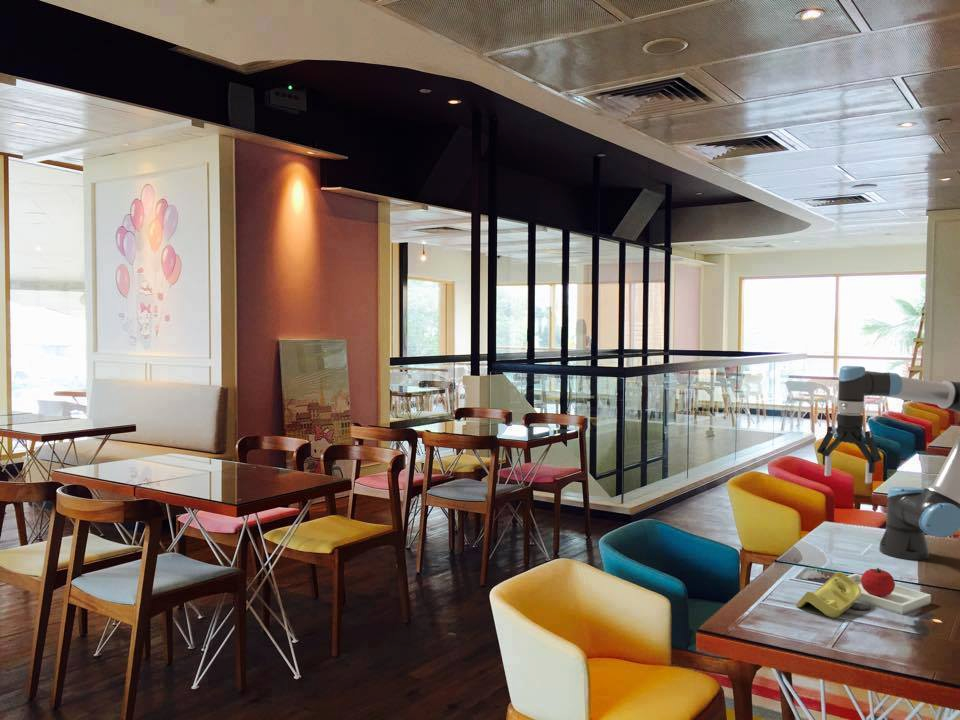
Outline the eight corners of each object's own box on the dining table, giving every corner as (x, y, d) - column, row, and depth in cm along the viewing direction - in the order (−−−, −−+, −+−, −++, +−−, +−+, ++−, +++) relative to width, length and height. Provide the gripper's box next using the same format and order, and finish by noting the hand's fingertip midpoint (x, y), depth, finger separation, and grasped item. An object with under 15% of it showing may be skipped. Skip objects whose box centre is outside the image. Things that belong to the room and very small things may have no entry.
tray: (855, 581, 241) (855, 573, 241) (930, 603, 224) (931, 594, 224) (826, 590, 232) (826, 582, 232) (902, 614, 214) (902, 605, 214)
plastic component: (838, 612, 209) (805, 587, 215) (825, 632, 212) (793, 607, 218) (867, 590, 223) (834, 567, 229) (854, 609, 226) (823, 586, 232)
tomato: (867, 599, 224) (868, 571, 224) (855, 589, 233) (856, 562, 232) (899, 601, 223) (901, 573, 223) (886, 590, 232) (888, 563, 231)
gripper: (807, 410, 262) (805, 473, 263) (883, 419, 242) (880, 487, 243) (820, 409, 267) (817, 471, 268) (895, 417, 247) (892, 484, 248)
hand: (847, 479), depth 255 cm, fingers open, 13 cm apart
